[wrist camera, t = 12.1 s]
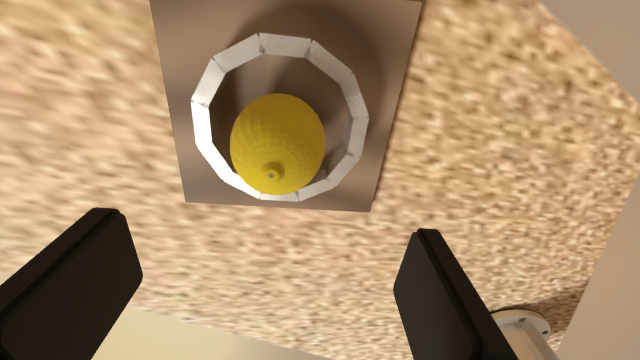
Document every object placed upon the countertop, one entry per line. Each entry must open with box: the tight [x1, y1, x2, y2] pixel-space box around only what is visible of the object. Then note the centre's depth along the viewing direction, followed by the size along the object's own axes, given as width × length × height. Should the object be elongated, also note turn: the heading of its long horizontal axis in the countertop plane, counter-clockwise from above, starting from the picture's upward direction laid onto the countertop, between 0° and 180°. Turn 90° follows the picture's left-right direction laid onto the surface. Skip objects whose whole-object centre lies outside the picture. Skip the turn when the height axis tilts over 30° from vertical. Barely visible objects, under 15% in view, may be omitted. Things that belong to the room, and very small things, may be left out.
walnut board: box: [150, 0, 423, 212], centre depth 20 cm, size 16×16×1 cm
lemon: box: [230, 93, 325, 195], centre depth 16 cm, size 6×6×8 cm
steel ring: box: [191, 31, 369, 202], centre depth 19 cm, size 11×11×2 cm
